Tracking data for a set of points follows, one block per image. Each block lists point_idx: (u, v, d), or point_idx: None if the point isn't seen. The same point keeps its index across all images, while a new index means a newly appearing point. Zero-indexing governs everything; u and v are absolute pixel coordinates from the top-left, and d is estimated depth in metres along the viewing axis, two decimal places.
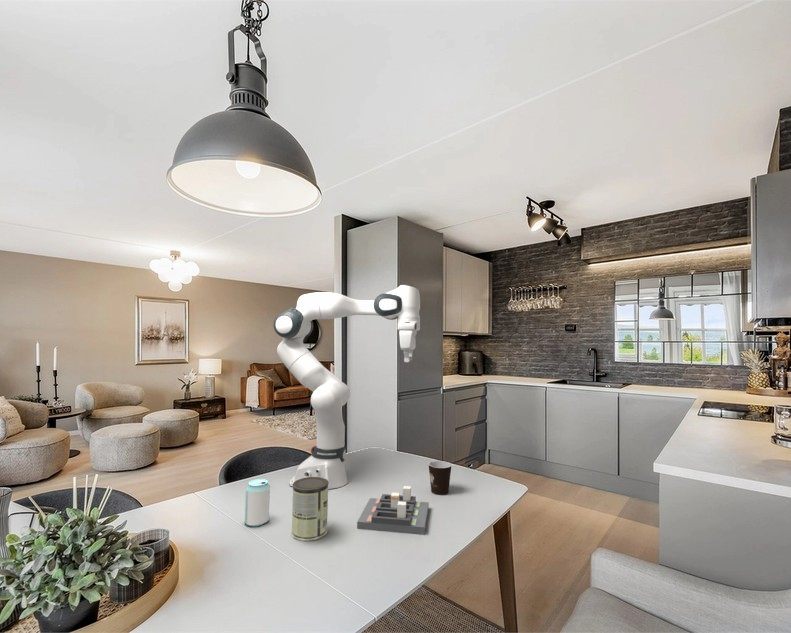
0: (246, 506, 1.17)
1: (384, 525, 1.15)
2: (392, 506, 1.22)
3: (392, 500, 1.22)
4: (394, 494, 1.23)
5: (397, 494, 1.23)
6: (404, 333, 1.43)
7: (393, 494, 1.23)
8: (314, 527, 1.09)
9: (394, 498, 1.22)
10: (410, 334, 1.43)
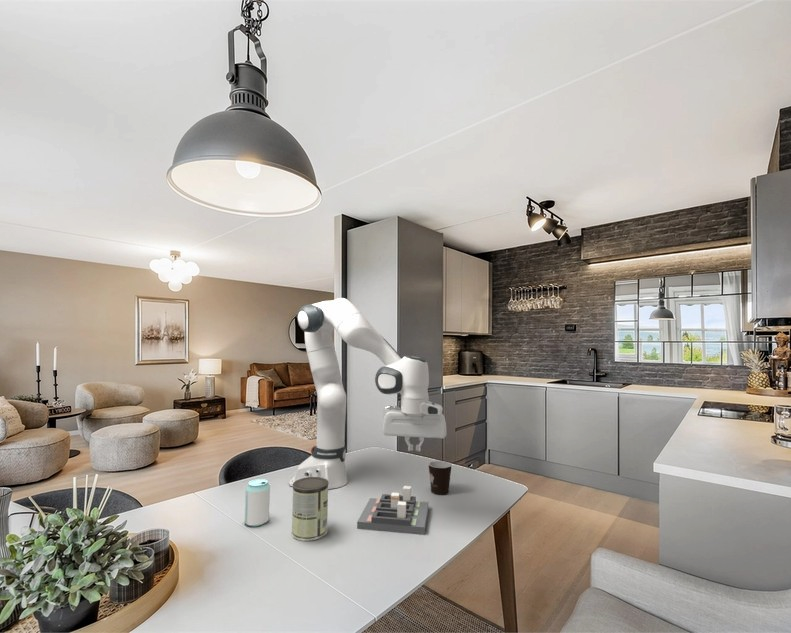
0: (246, 506, 1.17)
1: (384, 525, 1.15)
2: (392, 506, 1.22)
3: (392, 500, 1.22)
4: (394, 494, 1.23)
5: (397, 494, 1.23)
6: (444, 418, 1.22)
7: (393, 494, 1.23)
8: (314, 527, 1.09)
9: (394, 498, 1.22)
10: (444, 417, 1.25)
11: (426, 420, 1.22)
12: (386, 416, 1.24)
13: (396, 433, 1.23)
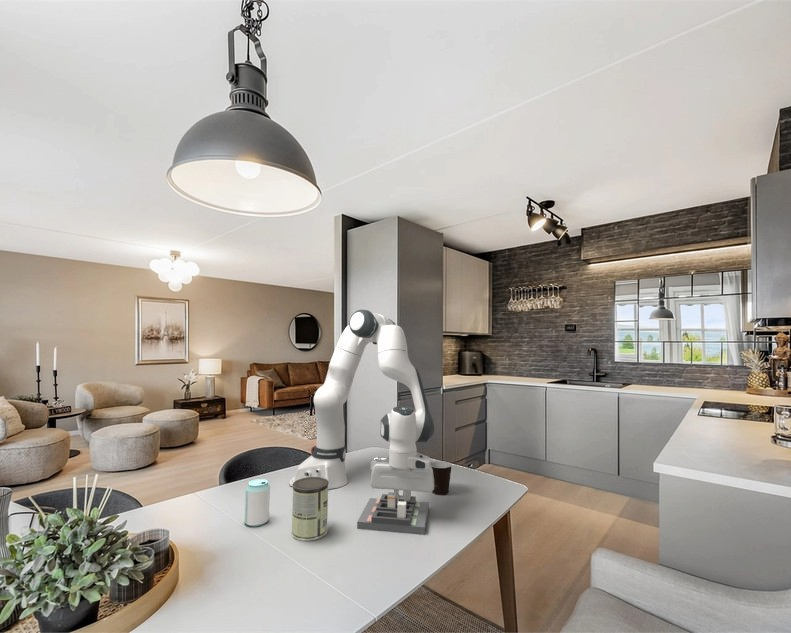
0: (246, 506, 1.17)
1: (384, 525, 1.15)
2: (389, 506, 1.22)
3: (389, 500, 1.23)
4: (391, 494, 1.24)
5: (394, 494, 1.24)
6: (431, 471, 1.22)
7: (390, 494, 1.24)
8: (314, 527, 1.09)
9: (391, 498, 1.22)
10: (432, 470, 1.24)
11: (414, 473, 1.22)
12: (374, 469, 1.24)
13: (383, 486, 1.23)
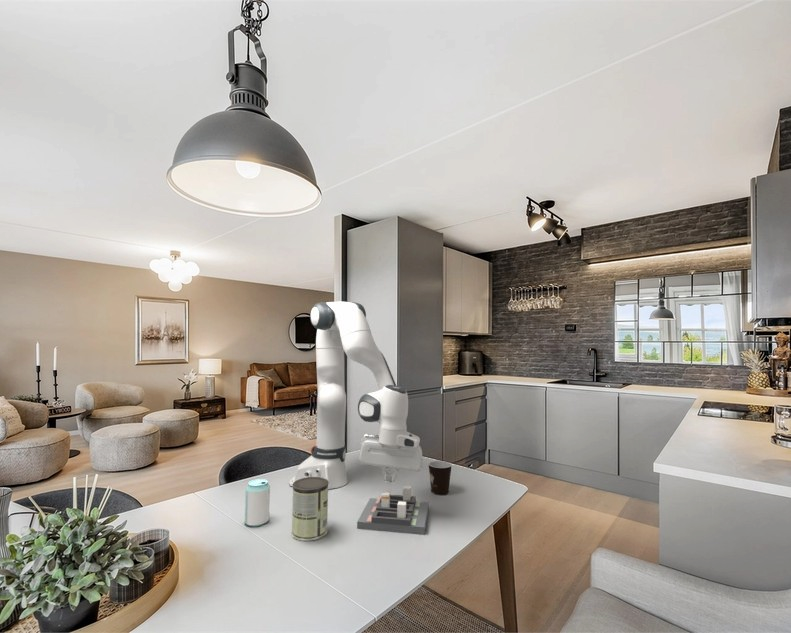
0: (246, 506, 1.17)
1: (384, 525, 1.15)
2: (382, 505, 1.23)
3: (382, 499, 1.23)
4: (385, 493, 1.24)
5: (388, 493, 1.24)
6: (420, 450, 1.23)
7: (384, 493, 1.24)
8: (314, 527, 1.09)
9: (385, 497, 1.23)
10: (421, 450, 1.25)
11: (402, 452, 1.23)
12: (363, 445, 1.25)
13: (371, 462, 1.24)
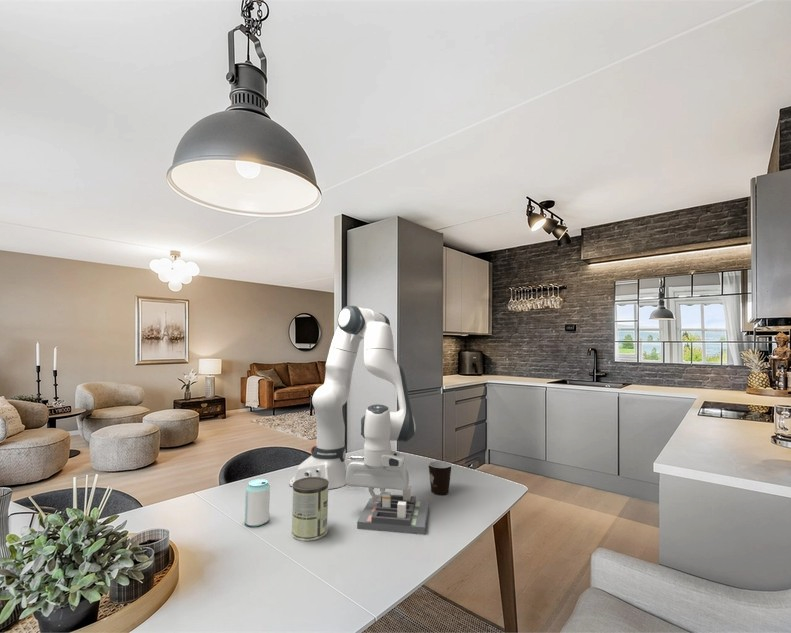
0: (246, 506, 1.17)
1: (384, 525, 1.15)
2: (383, 505, 1.23)
3: (383, 499, 1.23)
4: (385, 493, 1.24)
5: (388, 493, 1.24)
6: (405, 469, 1.23)
7: (384, 493, 1.24)
8: (314, 527, 1.09)
9: (386, 497, 1.23)
10: None
11: (388, 471, 1.23)
12: (348, 467, 1.25)
13: (358, 484, 1.24)
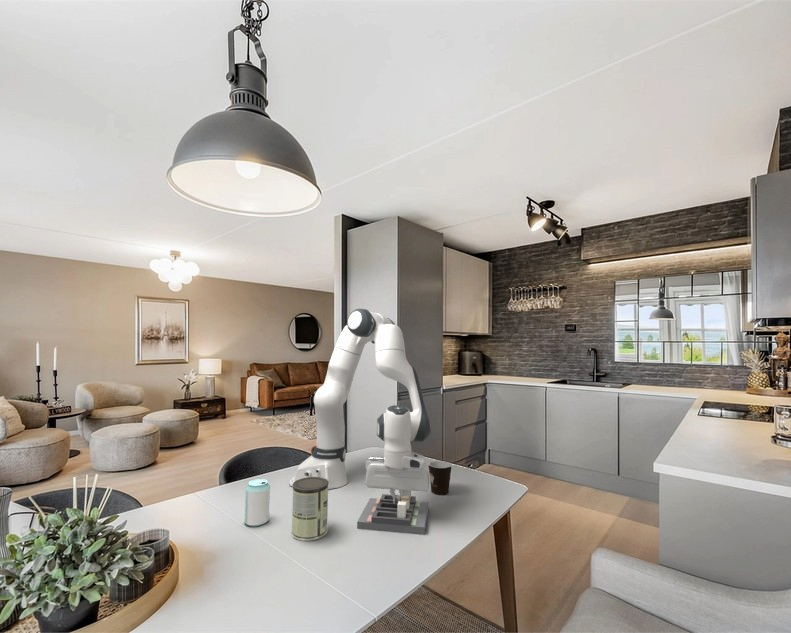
0: (246, 506, 1.17)
1: (384, 525, 1.15)
2: None
3: (402, 501, 1.22)
4: (404, 495, 1.23)
5: (407, 495, 1.23)
6: (426, 470, 1.22)
7: (403, 495, 1.23)
8: (314, 527, 1.09)
9: (405, 499, 1.22)
10: (427, 469, 1.24)
11: (408, 473, 1.22)
12: (369, 468, 1.24)
13: (378, 485, 1.23)
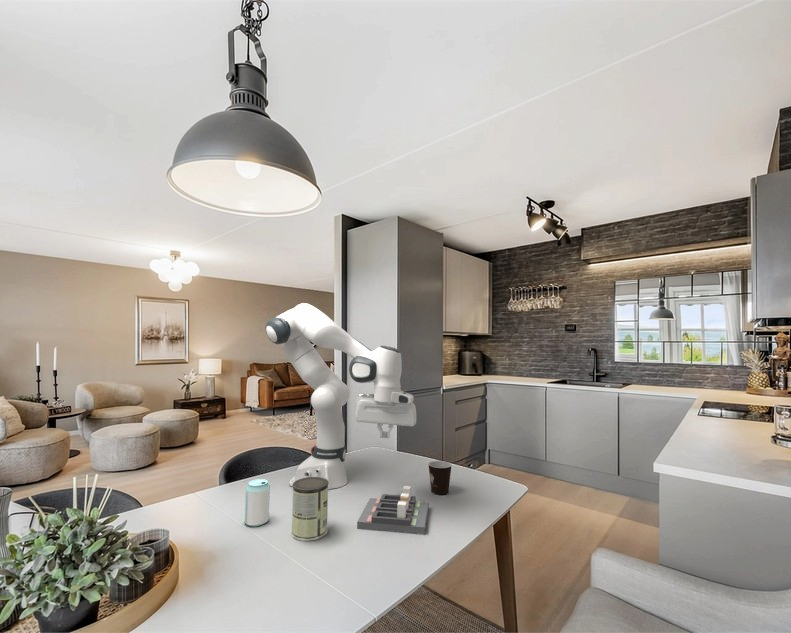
0: (246, 506, 1.17)
1: (384, 525, 1.15)
2: None
3: (402, 501, 1.22)
4: (404, 495, 1.23)
5: (407, 495, 1.23)
6: (414, 407, 1.27)
7: (403, 495, 1.23)
8: (314, 527, 1.09)
9: (404, 499, 1.22)
10: (415, 407, 1.30)
11: (397, 408, 1.27)
12: (359, 403, 1.29)
13: (367, 420, 1.28)
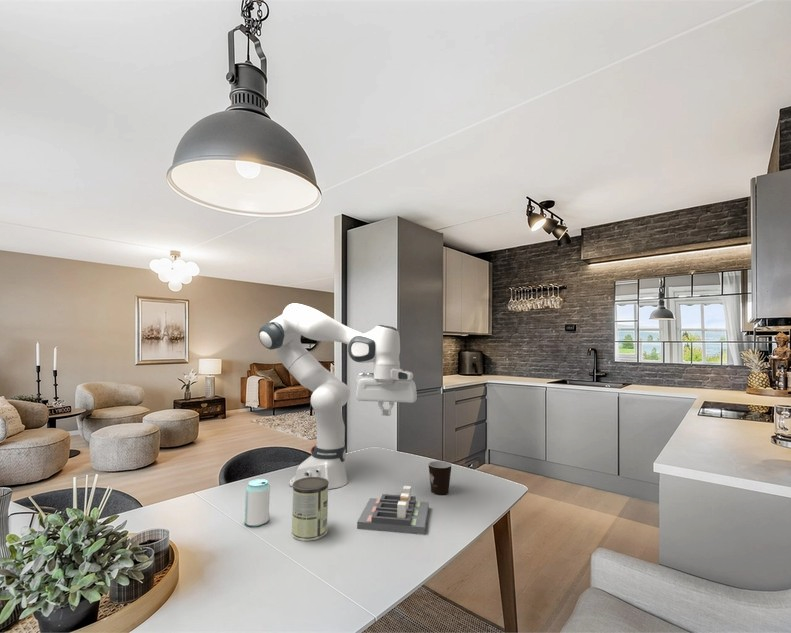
0: (246, 506, 1.17)
1: (384, 525, 1.15)
2: None
3: (402, 501, 1.22)
4: (404, 495, 1.23)
5: (407, 495, 1.23)
6: (414, 383, 1.29)
7: (403, 495, 1.23)
8: (314, 527, 1.09)
9: (404, 499, 1.22)
10: None
11: (397, 385, 1.28)
12: (359, 382, 1.30)
13: (368, 398, 1.29)
